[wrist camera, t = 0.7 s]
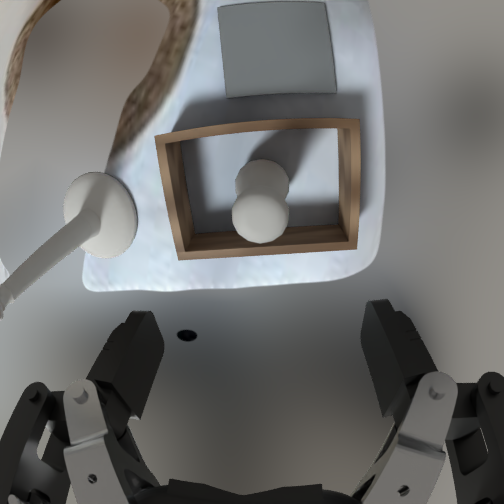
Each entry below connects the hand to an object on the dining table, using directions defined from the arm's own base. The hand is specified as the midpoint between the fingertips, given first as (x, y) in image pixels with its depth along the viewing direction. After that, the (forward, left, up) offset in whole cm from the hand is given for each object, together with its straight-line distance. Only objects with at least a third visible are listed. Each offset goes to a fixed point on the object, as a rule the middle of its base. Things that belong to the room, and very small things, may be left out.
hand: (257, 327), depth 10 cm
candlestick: (+2, -23, -24) cm, 33 cm away
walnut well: (0, 0, -24) cm, 24 cm away
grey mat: (-16, +3, -24) cm, 29 cm away
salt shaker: (0, 0, -24) cm, 24 cm away
